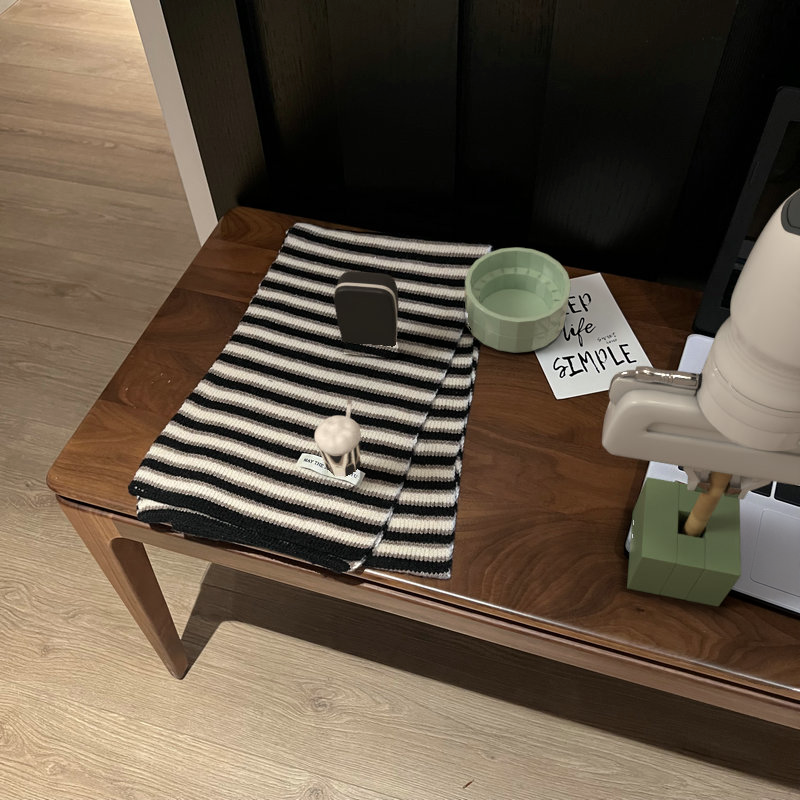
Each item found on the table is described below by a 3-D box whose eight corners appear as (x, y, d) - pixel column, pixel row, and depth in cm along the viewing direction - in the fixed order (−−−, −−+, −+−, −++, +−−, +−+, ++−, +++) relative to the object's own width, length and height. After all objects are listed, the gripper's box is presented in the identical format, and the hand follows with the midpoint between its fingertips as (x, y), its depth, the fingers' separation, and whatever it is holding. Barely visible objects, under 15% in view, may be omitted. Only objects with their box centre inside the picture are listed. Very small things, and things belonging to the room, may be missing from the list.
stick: (689, 546, 75) (737, 456, 62) (689, 561, 74) (738, 473, 61) (672, 543, 75) (716, 453, 63) (672, 558, 75) (716, 469, 62)
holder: (718, 528, 78) (739, 493, 72) (718, 606, 73) (741, 575, 67) (632, 512, 79) (646, 476, 74) (626, 588, 74) (641, 556, 69)
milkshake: (377, 461, 84) (370, 407, 76) (355, 501, 81) (345, 449, 73) (340, 448, 85) (329, 392, 78) (317, 486, 83) (303, 433, 75)
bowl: (569, 290, 98) (575, 254, 94) (557, 362, 91) (564, 328, 87) (474, 277, 100) (475, 241, 96) (455, 347, 93) (456, 313, 89)
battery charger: (403, 337, 95) (399, 268, 86) (398, 361, 93) (393, 293, 83) (347, 332, 96) (337, 263, 87) (341, 356, 93) (330, 288, 84)
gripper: (611, 398, 54) (585, 497, 65) (932, 447, 50) (847, 544, 61) (618, 332, 58) (592, 437, 69) (918, 373, 54) (840, 477, 65)
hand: (714, 487), depth 65 cm, fingers closed on stick, 1 cm apart
